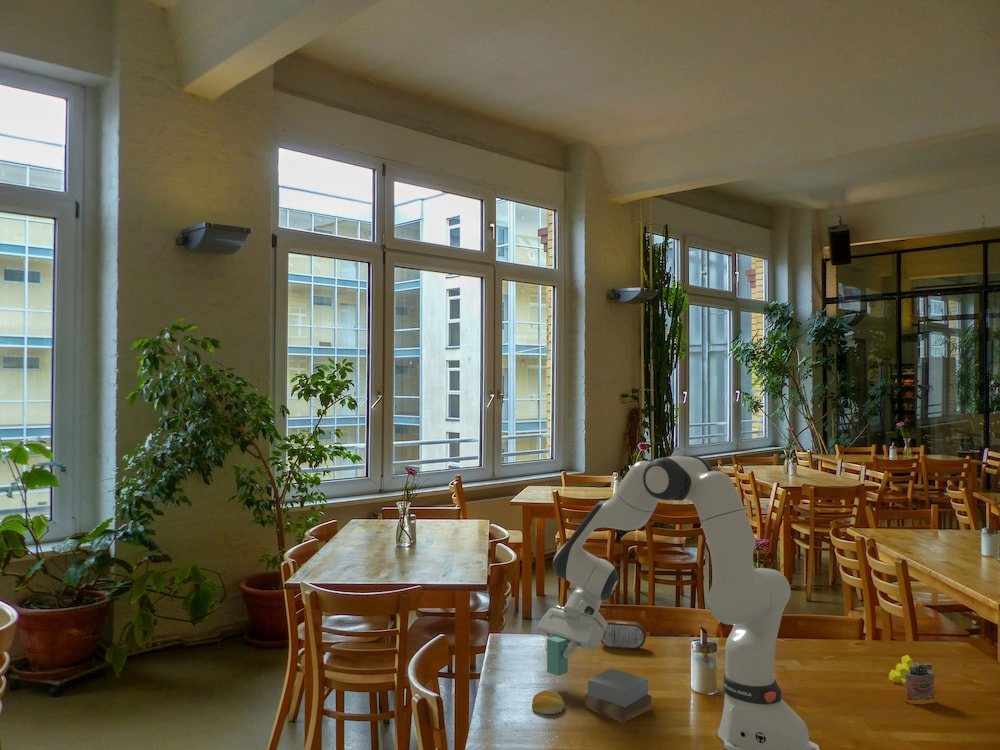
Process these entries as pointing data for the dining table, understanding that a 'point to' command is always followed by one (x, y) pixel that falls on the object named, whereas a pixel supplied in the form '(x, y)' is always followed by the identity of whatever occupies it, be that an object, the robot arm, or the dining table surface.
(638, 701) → the tower base
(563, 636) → the robot arm
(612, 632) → the tin
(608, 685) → the tower top
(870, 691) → the dining table surface
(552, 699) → the bread roll
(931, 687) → the lighter
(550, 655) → the pillar block
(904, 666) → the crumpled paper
